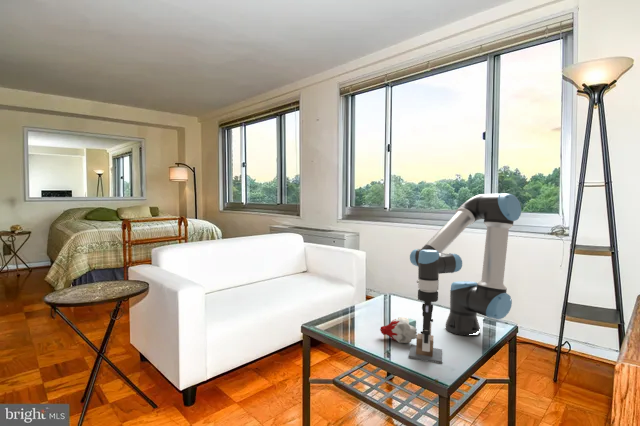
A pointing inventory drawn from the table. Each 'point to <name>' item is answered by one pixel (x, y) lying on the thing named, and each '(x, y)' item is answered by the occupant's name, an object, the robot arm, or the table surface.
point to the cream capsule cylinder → (404, 319)
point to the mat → (436, 356)
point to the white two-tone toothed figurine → (400, 331)
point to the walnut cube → (419, 346)
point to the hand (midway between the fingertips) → (426, 344)
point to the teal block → (412, 322)
